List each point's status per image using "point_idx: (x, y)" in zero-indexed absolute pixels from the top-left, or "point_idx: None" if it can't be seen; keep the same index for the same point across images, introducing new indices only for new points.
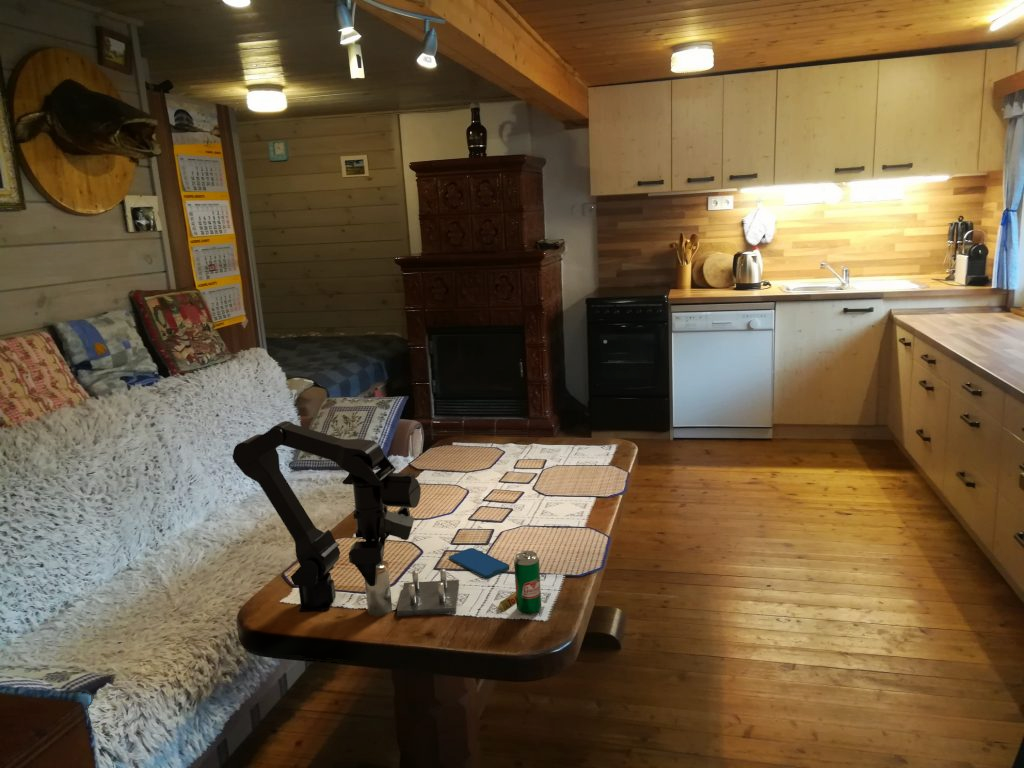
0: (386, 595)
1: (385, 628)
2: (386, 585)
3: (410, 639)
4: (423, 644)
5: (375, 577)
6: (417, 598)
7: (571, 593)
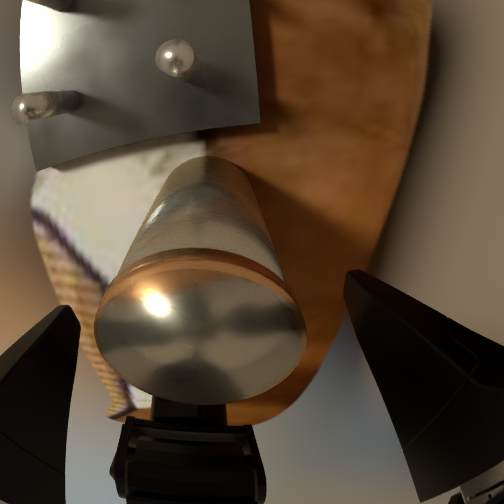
0: (237, 187)
1: (339, 150)
2: (235, 204)
3: (404, 63)
4: (425, 31)
5: (409, 297)
6: (148, 62)
7: None
